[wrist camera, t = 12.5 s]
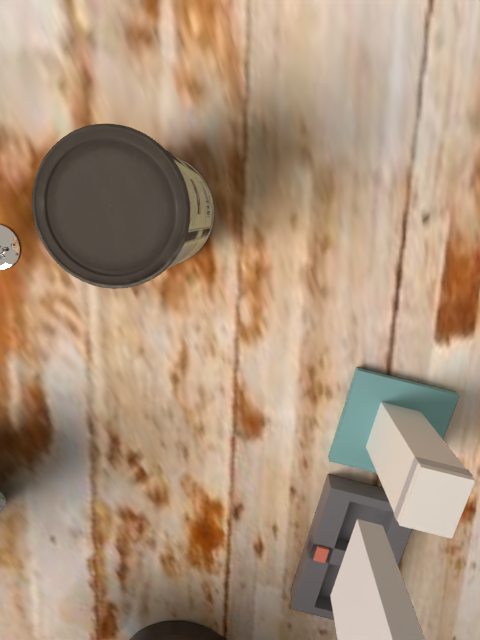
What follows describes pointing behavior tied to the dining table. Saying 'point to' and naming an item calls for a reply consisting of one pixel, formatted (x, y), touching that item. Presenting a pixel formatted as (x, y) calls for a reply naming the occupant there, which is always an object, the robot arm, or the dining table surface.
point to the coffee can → (119, 206)
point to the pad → (364, 407)
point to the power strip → (339, 539)
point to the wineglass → (8, 248)
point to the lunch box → (2, 501)
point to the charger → (418, 471)
